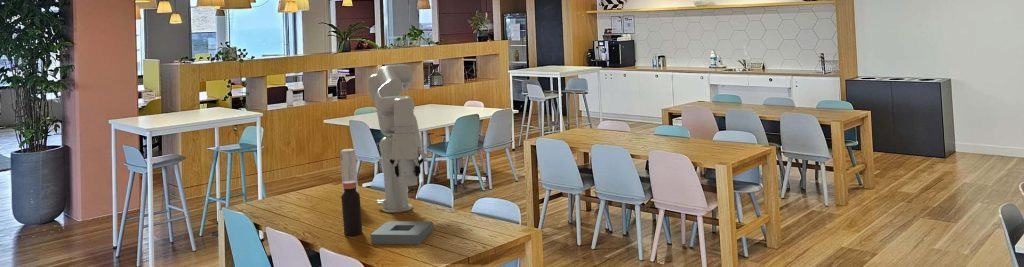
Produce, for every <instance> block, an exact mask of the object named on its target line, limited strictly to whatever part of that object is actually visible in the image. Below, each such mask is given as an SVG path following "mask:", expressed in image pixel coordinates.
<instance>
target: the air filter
mask: <svg viewBox="0 0 1024 267" xmlns="http://www.w3.org/2000/svg"><path fill="white" fill-rule="evenodd" d="M339 155H340V157H339V158H340V168H341V170H340V171H341V181H342V182H341V183H342V186H343V182H345V181H356V191H357V192H358V193H359V186H358V182H359V181H358V173H357V171H358V170H357V158H356V156H357V155H356V151H355V149H354V148H346V149H342V150H341V151H340V153H339ZM343 193H344V188H343V187H342V194H343Z"/></svg>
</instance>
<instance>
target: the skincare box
mask: <svg viewBox="0 0 1024 267" xmlns="http://www.w3.org/2000/svg"><path fill="white" fill-rule="evenodd" d="M401 158H402V160H399V161H398V171H399V185H400V186H402V187H406V186H407V187H413V186H417V185H418V176H415V166H416V164H415V162H414V160H404V156H401Z"/></svg>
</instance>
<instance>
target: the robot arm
mask: <svg viewBox="0 0 1024 267" xmlns="http://www.w3.org/2000/svg"><path fill="white" fill-rule="evenodd" d="M412 69H413V68H412V67H410V65H408V64H405V63H404V64H402V63H401V64H388V65H384V66H382V67H380V68H379V69H378V70H377V73H374V74H372V75H369V77H368V79H367V90H368V95H369V96H370V99H371V100H372V102H373V104H374V106H375V108H376V113H377V114H376V115H377V120H378V126H379V130H380V132H381V134H382V135H383V136H385V137H382V138H381V139H380V141H379V145H378V146H379V151H380V155H381V156H380V157H381V160H382V169H383V170H382V171H383V172H382V173H383V184H384V194H385V195H384V196H385V199H376V204H377V206H382V208H381V209H382V212H384V213H394V214H395V213H403V212H408V211H410V210H412V209H413V204H411V203H409V193H408V191H409V190H408V186H406V187H402V186H400V185H399V171H398V161H399V160H402V158H401V156H404V160H414V162H415V164H416V166H415V176H417V177H419V176H420V175H421V173H422V172H421V165H422V164H423V162H425V160H426V158H427V157H428V154H427V153H426V152H424V151H423V150H422V149H423V146H422V140H421V135H420V130H419V125H418V120H417V116H416V115H415V114H414V110H415V101H414V99H413V97H411V96H410V95H402V93H403V92H406V91H408V90H409V88H410V86H411V85H412V83H413V80H414V73H413V70H412ZM420 157H421V158H420Z"/></svg>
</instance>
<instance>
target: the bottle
mask: <svg viewBox="0 0 1024 267" xmlns="http://www.w3.org/2000/svg"><path fill="white" fill-rule="evenodd" d="M343 188H344V193H343V192H342V194H341V197H340V198H341V208H342V209H341V210H342V224H343V233H344V235H345V236H348V237H355V236H360V235H361V234H363V224H362V223H363V221H362V210H361V208H362V207H361V197H360V196H361V195H360V193H359V191H358V192H357V191H356V181H345V182H343V185H342V189H343Z"/></svg>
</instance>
